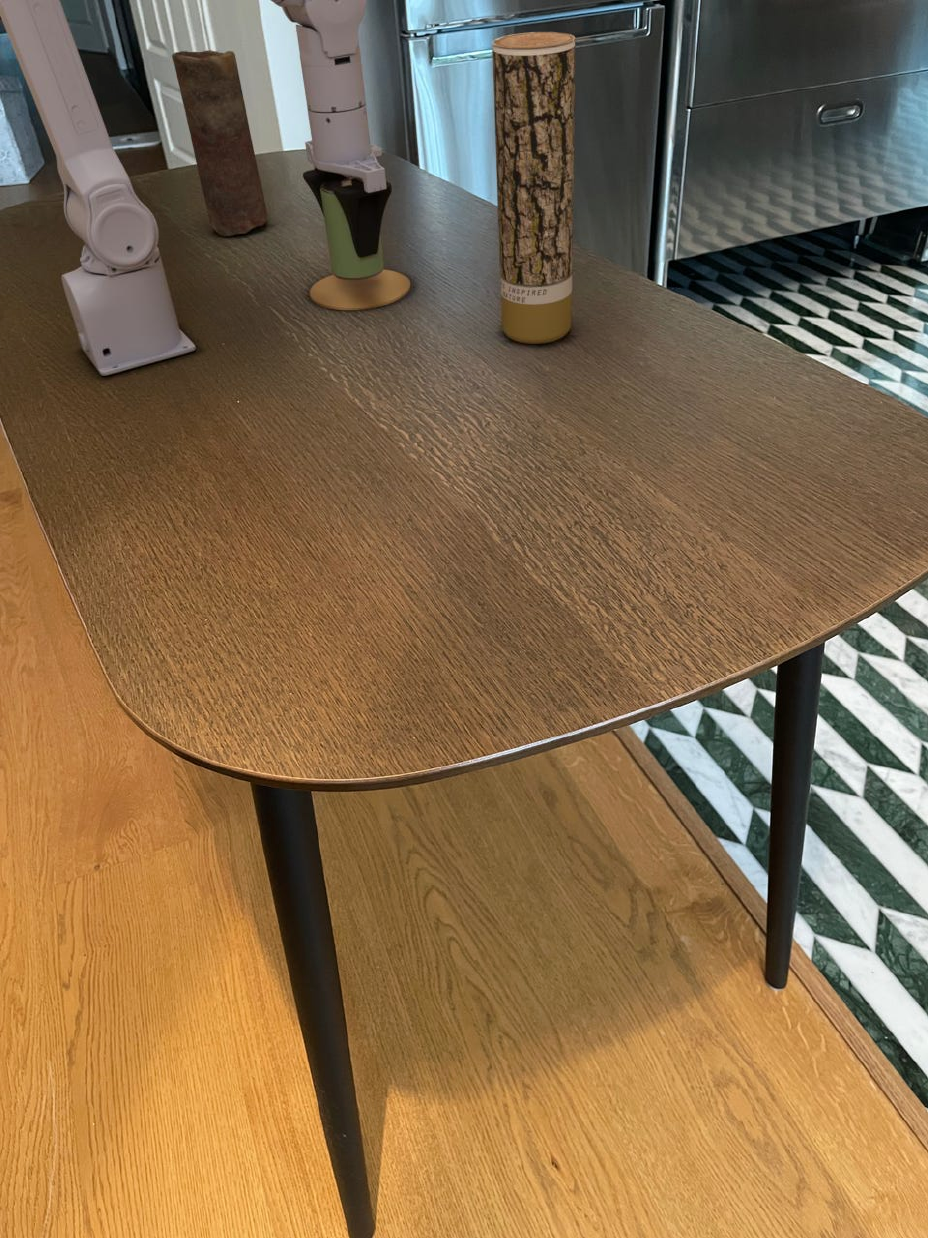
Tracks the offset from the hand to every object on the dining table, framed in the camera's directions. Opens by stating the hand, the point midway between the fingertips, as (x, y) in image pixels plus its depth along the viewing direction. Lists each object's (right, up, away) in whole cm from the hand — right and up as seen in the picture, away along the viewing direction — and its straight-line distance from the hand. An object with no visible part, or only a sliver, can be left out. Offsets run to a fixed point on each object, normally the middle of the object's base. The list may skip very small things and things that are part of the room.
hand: (354, 246), depth 103 cm
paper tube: (+19, -12, -8) cm, 23 cm away
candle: (-17, +11, +22) cm, 30 cm away
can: (0, -2, +2) cm, 3 cm away
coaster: (0, -4, +3) cm, 5 cm away
